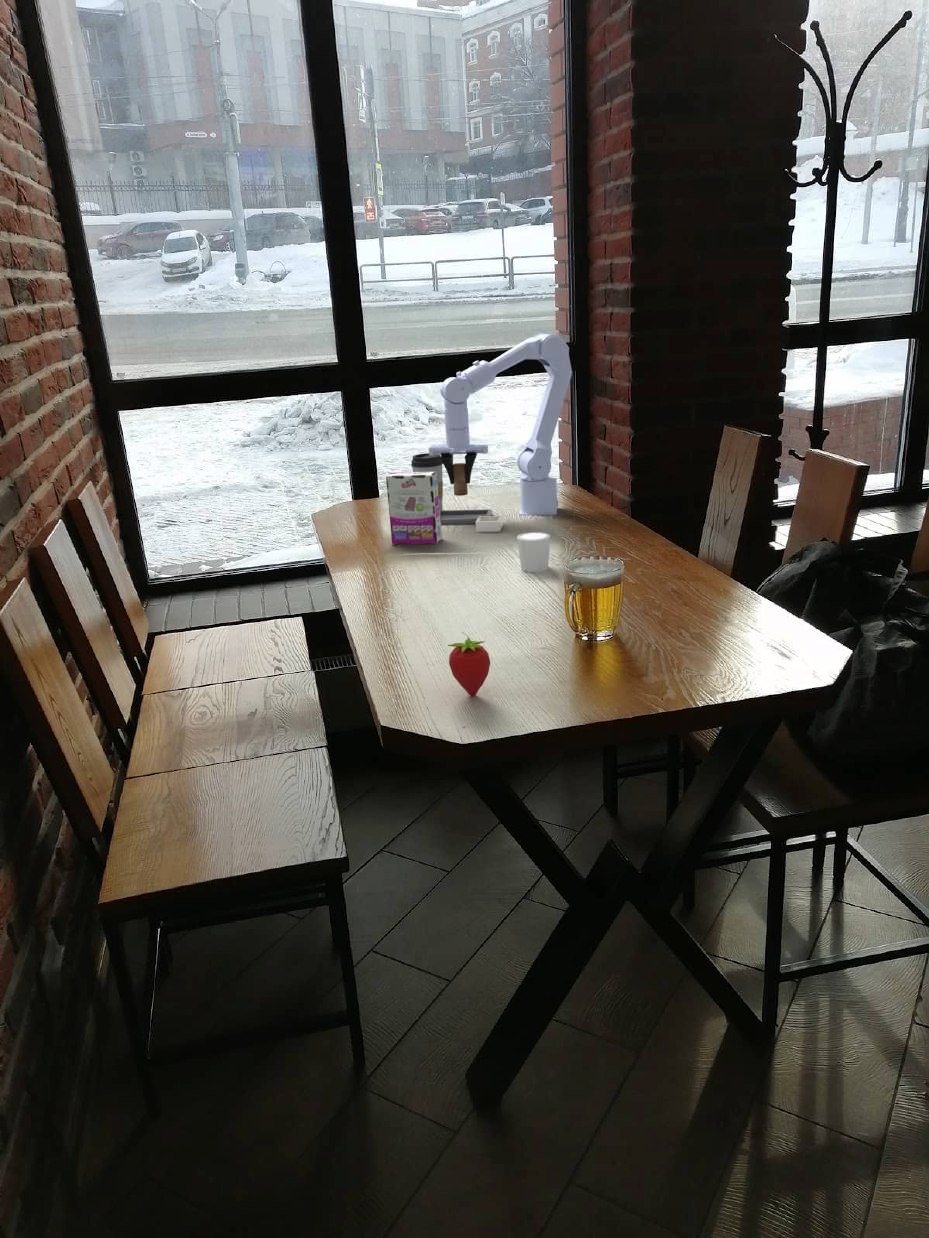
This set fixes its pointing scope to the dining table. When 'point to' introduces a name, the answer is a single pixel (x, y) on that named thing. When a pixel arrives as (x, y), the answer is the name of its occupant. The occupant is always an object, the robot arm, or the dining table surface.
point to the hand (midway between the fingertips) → (460, 483)
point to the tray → (462, 516)
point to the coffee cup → (430, 469)
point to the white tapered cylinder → (534, 551)
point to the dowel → (459, 479)
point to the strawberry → (469, 665)
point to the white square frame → (489, 524)
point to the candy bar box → (414, 507)
